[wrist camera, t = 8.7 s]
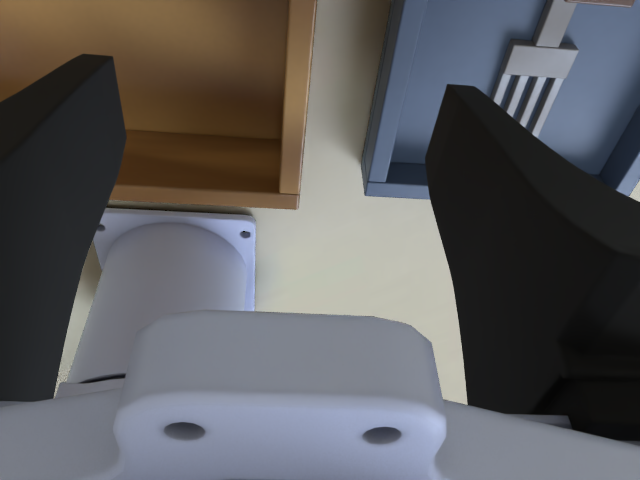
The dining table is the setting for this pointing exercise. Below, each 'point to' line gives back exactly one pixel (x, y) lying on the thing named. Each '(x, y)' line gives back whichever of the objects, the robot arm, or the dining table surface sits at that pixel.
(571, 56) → the fork
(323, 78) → the dining table surface
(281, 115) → the wooden box
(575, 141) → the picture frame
